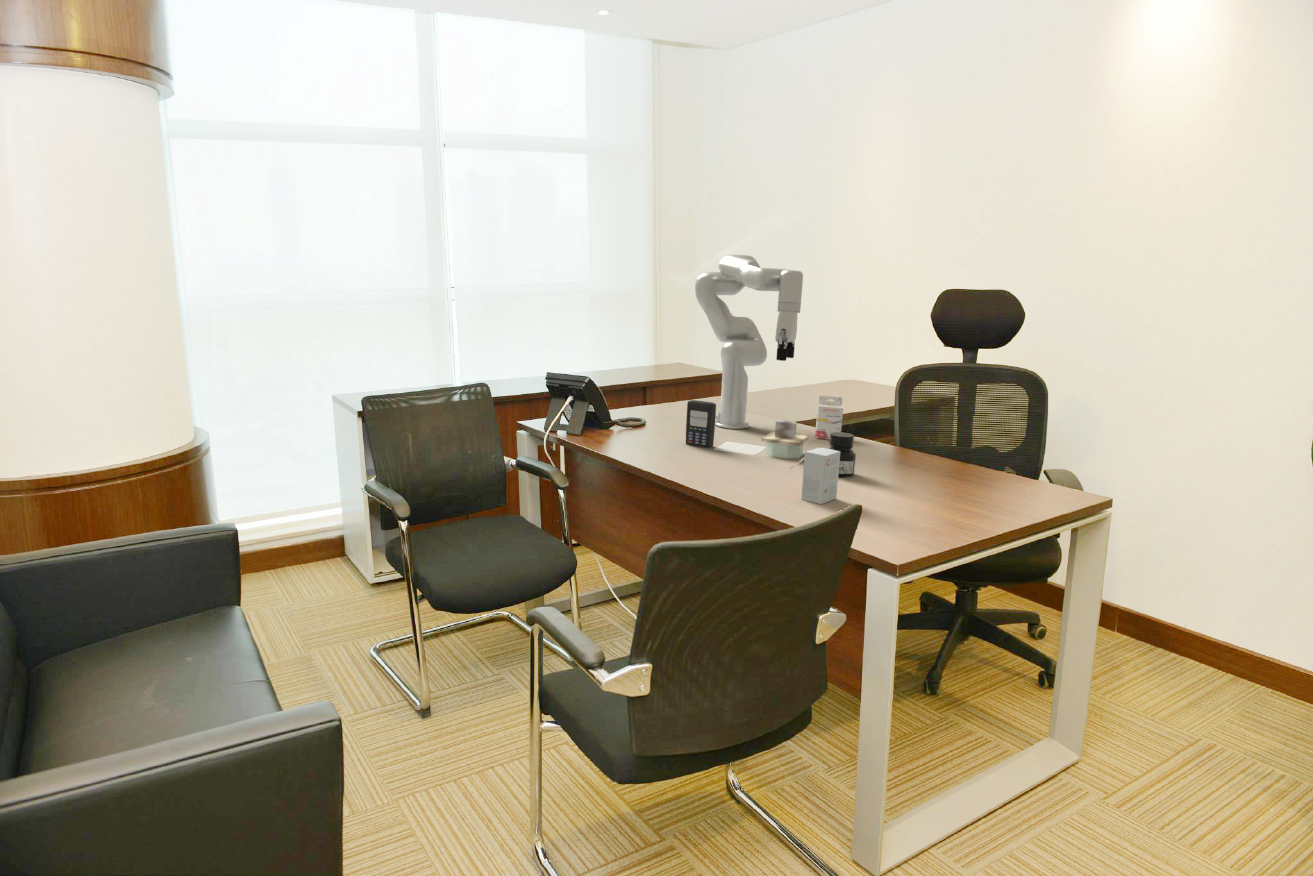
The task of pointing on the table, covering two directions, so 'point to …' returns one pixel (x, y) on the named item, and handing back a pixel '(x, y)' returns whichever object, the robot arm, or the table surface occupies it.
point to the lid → (785, 434)
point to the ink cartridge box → (828, 416)
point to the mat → (740, 448)
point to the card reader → (700, 423)
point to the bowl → (784, 450)
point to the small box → (820, 475)
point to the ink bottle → (844, 452)
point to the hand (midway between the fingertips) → (785, 359)
